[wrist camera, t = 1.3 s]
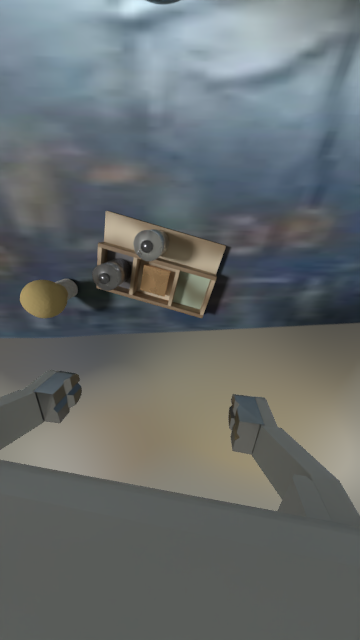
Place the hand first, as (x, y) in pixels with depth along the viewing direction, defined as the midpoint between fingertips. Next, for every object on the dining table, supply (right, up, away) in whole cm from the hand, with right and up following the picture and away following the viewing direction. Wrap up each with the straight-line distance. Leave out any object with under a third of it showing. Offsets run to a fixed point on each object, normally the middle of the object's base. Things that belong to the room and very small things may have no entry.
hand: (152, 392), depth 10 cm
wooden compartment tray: (-2, +13, +24) cm, 28 cm away
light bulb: (-21, +11, +28) cm, 37 cm away
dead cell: (-9, +13, +24) cm, 29 cm away
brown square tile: (-3, +11, +24) cm, 26 cm away
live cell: (-2, +17, +21) cm, 27 cm away
